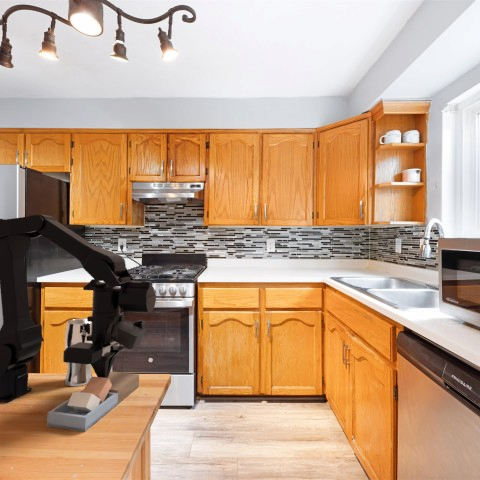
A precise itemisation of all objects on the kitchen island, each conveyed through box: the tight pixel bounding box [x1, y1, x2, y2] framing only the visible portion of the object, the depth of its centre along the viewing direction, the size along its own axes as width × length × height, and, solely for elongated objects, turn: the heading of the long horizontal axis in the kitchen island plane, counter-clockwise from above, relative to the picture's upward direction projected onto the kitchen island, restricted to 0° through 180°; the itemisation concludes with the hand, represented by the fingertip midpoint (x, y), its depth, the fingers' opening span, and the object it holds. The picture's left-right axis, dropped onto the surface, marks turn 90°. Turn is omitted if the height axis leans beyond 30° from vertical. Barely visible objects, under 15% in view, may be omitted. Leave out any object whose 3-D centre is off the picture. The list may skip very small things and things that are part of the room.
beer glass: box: [64, 317, 93, 387], centre depth 78 cm, size 7×7×15 cm
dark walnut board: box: [84, 370, 140, 405], centre depth 71 cm, size 8×9×3 cm
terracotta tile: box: [82, 376, 112, 403], centre depth 65 cm, size 4×4×2 cm
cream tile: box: [68, 390, 101, 412], centre depth 61 cm, size 4×4×2 cm
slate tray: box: [46, 389, 119, 433], centre depth 62 cm, size 8×10×2 cm
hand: (103, 382), depth 68 cm, fingers closed
